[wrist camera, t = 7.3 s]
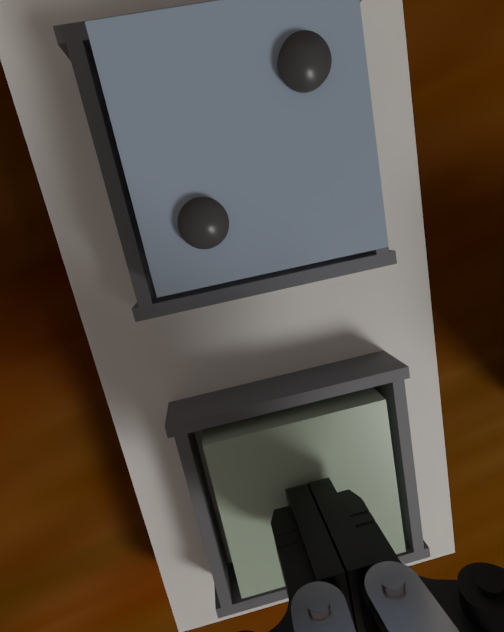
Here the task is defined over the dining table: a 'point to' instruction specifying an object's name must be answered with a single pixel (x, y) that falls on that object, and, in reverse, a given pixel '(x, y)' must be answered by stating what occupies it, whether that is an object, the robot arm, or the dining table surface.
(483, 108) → the dining table surface
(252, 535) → the button one
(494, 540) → the dining table surface
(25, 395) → the dining table surface
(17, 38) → the button board
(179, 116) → the button two
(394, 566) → the robot arm
